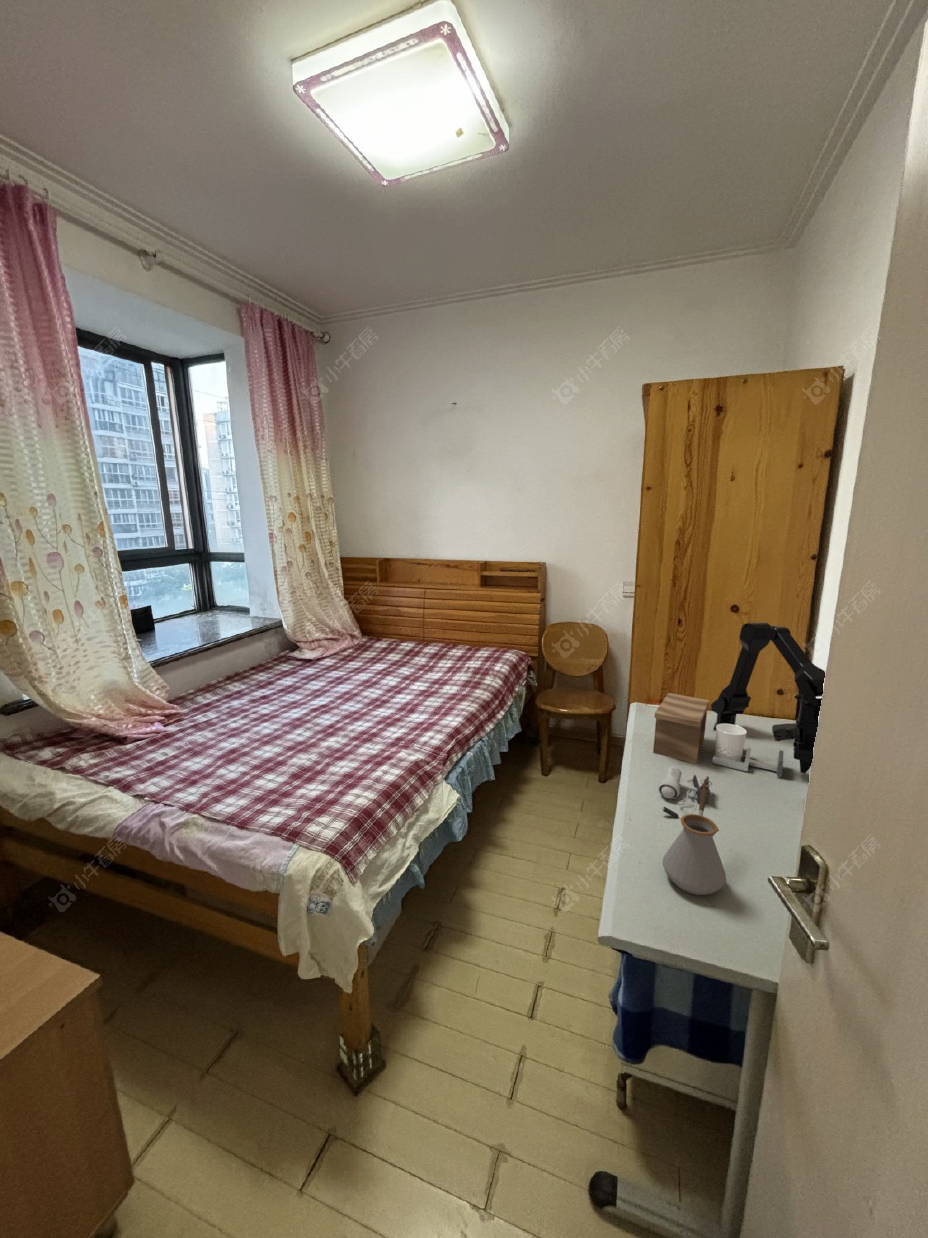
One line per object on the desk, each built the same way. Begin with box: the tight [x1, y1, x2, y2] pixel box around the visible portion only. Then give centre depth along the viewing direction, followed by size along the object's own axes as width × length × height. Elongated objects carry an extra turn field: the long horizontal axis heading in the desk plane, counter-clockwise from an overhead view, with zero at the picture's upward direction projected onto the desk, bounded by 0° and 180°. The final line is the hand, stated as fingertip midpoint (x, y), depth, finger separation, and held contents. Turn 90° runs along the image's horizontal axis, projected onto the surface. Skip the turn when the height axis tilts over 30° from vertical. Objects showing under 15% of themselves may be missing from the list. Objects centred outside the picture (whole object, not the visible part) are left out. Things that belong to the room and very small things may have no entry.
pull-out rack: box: [712, 747, 784, 778], centre depth 145 cm, size 11×17×4 cm, turn 57°
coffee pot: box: [662, 778, 727, 896], centre depth 102 cm, size 21×12×15 cm, turn 150°
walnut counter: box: [652, 692, 710, 764], centre depth 154 cm, size 20×12×14 cm, turn 147°
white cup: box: [714, 724, 748, 762], centre depth 147 cm, size 8×8×10 cm
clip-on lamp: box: [658, 765, 711, 819], centre depth 126 cm, size 12×6×18 cm
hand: (802, 772), depth 138 cm, fingers closed
